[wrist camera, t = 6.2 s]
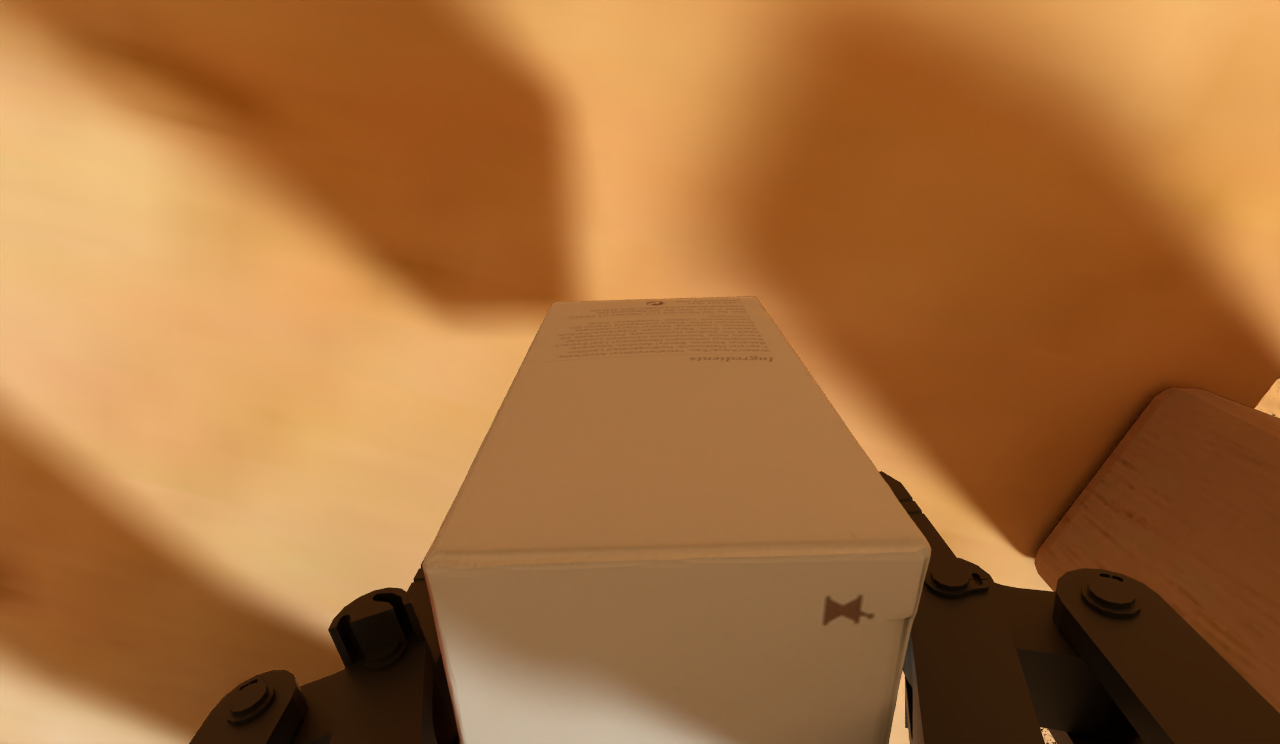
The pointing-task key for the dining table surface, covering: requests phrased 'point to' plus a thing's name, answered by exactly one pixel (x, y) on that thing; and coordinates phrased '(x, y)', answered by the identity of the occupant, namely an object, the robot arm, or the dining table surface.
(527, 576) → the small box
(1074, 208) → the dining table surface
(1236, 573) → the block
